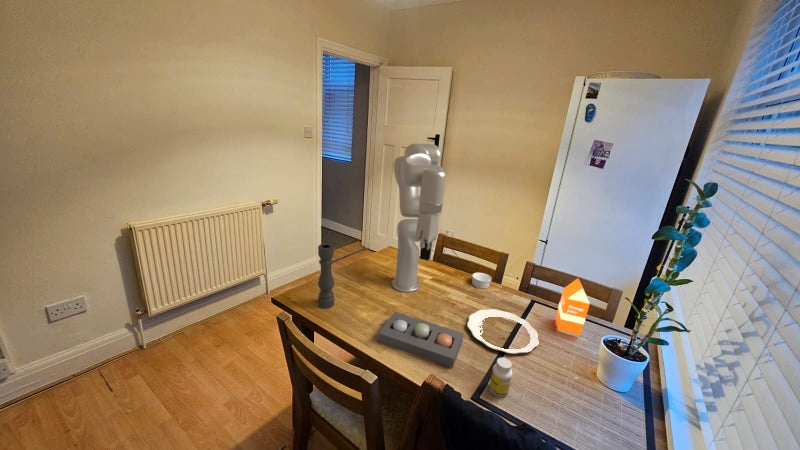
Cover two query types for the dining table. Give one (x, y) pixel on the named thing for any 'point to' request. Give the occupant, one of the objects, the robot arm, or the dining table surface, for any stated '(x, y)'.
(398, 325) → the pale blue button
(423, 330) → the sage button
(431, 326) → the button panel
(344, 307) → the dining table surface
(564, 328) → the orange juice
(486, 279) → the ramekin
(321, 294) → the candle holder
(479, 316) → the plate
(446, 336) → the terracotta button
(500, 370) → the supplement bottle
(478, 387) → the dining table surface
